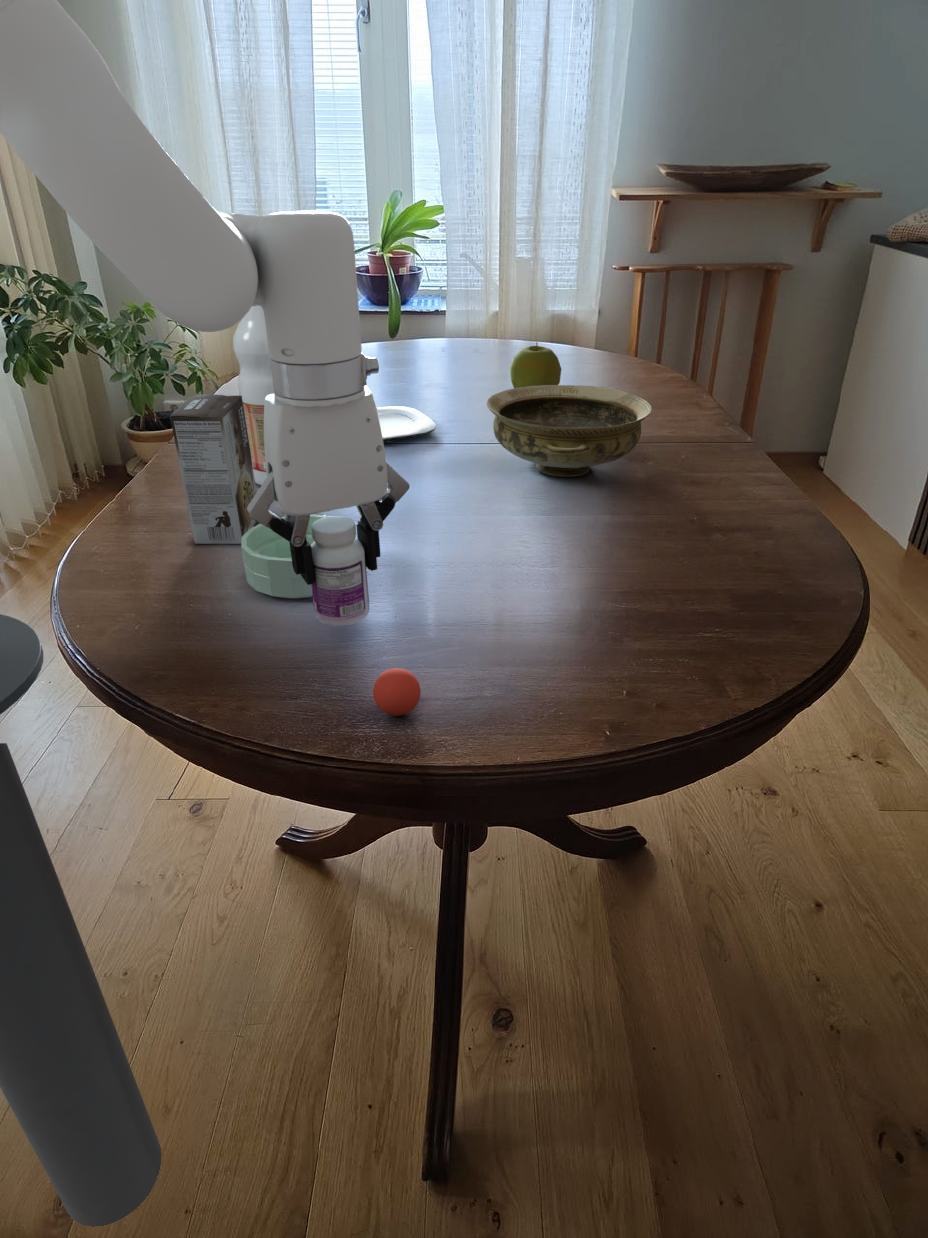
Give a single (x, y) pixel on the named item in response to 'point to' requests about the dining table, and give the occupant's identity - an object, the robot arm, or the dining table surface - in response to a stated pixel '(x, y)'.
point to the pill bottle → (338, 572)
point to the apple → (535, 367)
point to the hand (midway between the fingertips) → (337, 569)
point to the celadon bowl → (273, 562)
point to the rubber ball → (396, 691)
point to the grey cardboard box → (215, 466)
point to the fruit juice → (254, 382)
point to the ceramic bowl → (567, 425)
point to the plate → (403, 423)
